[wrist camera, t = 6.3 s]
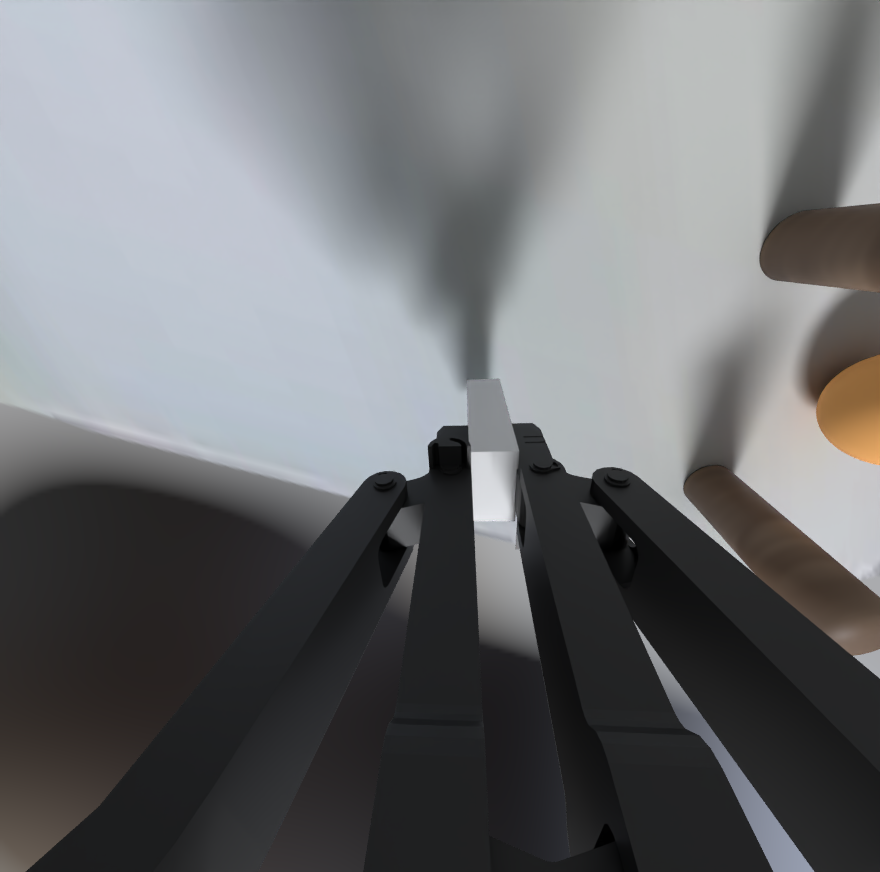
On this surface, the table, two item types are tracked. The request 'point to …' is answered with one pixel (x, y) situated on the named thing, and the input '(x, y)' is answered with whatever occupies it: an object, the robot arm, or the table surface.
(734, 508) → the far post
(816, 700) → the robot arm
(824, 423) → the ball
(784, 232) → the near post
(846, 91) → the table surface
